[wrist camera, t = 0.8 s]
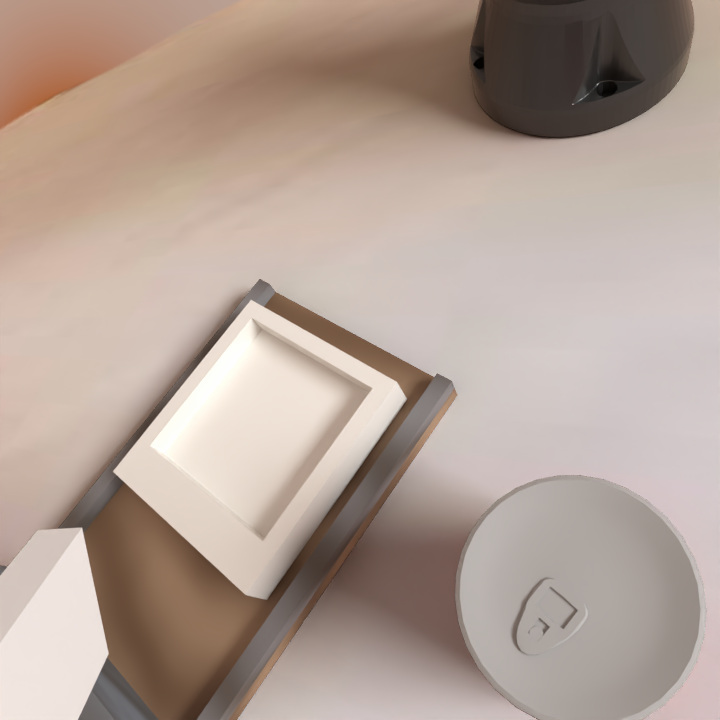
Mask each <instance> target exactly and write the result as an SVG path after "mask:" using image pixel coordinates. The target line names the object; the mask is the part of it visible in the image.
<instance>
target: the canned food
mask: <svg viewBox="0 0 720 720" xmlns="http://www.w3.org/2000/svg"><path fill="white" fill-rule="evenodd" d="M455 602H456V609H457V616H458V623H459V626H460V629H461V632H462V635H463V638H464V641H465V644H466V646H467V648H468V650H469V652H470V654H471V656H472V658H473V659H474V661H475V663H476V665H477V667H478V669H479V670H480V671H481V673H482V674H483V675H484V676H485V678H486V679H487V680H488V681H489V683H490V684H491V685H492V686H493V688H494V689H495V690H496V691H497V692H499V693H500V694H501V695H502V696H503V697H504V698H506V699H507V700H508V701H509V702H510V703H511V704H513V705H514V706H515V707H516V708H518V709H520V710H522V711H523V712H525V713H527V714H529V715H531V716H532V717H534V718H536V719H538V720H643V719H644V718H646V717H647V716H649V715H650V714H652V713H653V712H655V711H656V710H658V709H660V708H661V707H663V706H664V705H665V704H666V703H667V702H668V701H669V700H670V699H671V698H672V697H673V696H674V695H675V694H676V693H677V691H678V690H679V689H680V688H681V687H682V686H683V685H684V683H685V681H686V680H687V678H688V676H689V675H690V673H691V671H692V669H693V668H694V666H695V664H696V663H697V659H698V656H699V653H700V650H701V646H702V643H703V640H704V635H705V624H706V612H707V610H706V602H705V594H704V586H703V582H702V579H701V576H700V573H699V570H698V567H697V564H696V560H695V558H694V556H693V554H692V553H691V551H690V549H689V547H688V545H687V544H686V542H685V540H684V538H683V536H682V535H681V534H680V533H679V531H678V530H677V529H676V528H675V527H674V525H673V524H672V523H671V522H670V521H669V519H668V518H667V517H666V516H665V515H664V514H663V513H662V512H660V511H659V510H658V509H657V508H656V507H655V506H653V505H652V504H651V503H650V502H649V501H647V500H646V499H644V498H643V497H641V496H639V495H638V494H636V493H634V492H632V491H631V490H629V489H627V488H626V487H623V486H620V485H617V484H615V483H612V482H609V481H606V480H604V479H599V478H593V477H587V476H581V475H563V476H553V477H548V478H543V479H538V480H535V481H532V482H530V483H527V484H525V485H522V486H520V487H517V488H515V489H514V490H512V491H511V492H509V493H508V494H506V495H505V496H503V497H501V498H500V499H498V500H497V501H496V502H495V503H494V504H493V505H492V506H491V507H490V508H489V509H488V510H487V511H486V512H485V513H484V514H483V515H482V516H481V518H480V519H479V521H478V522H477V523H476V525H475V526H474V528H473V529H472V531H471V532H470V534H469V536H468V539H467V541H466V543H465V545H464V548H463V550H462V552H461V556H460V560H459V564H458V569H457V573H456V587H455Z"/></svg>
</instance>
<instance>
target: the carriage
mask: <svg viewBox="0 0 720 720" xmlns="http://www.w3.org/2000/svg"><path fill="white" fill-rule="evenodd" d="M406 400H407V398H406V397H405V395H404V393H403V391H402V390H401V388H400V386H399V385H398V383H397V382H396V381H394V380H393V379H391V378H389V377H387V376H385V375H384V374H382V373H380V372H378V371H377V370H375V369H373V368H371V367H369V366H368V365H366V364H364V363H362V362H361V361H359V360H357V359H355V358H354V357H352V356H350V355H348V354H346V353H345V352H343V351H341V350H339V349H338V348H336V347H334V346H332V345H330V344H329V343H327V342H325V341H323V340H322V339H320V338H318V337H316V336H314V335H313V334H311V333H309V332H307V331H306V330H304V329H302V328H300V327H298V326H297V325H295V324H293V323H291V322H290V321H288V320H286V319H284V318H283V317H281V316H279V315H277V314H275V313H274V312H272V311H270V310H268V309H267V308H265V307H263V306H261V305H259V304H258V303H256V302H254V301H252V300H250V302H249V303H248V304H247V305H246V307H245V308H244V309H243V310H242V312H241V313H240V314H239V315H238V316H237V318H236V319H235V320H234V321H233V323H232V324H231V325H230V326H229V328H228V329H227V330H226V331H225V333H224V334H223V335H222V336H221V338H220V339H219V340H218V341H217V343H216V344H215V345H214V346H213V348H212V349H211V350H210V351H209V353H208V354H207V355H206V356H205V358H204V359H203V360H202V361H201V362H200V364H199V365H198V366H197V367H196V369H195V370H194V371H193V372H192V374H191V375H190V376H189V377H188V379H187V380H186V381H185V382H184V384H183V385H182V386H181V387H180V389H179V390H178V391H177V392H176V394H175V395H174V396H173V397H172V399H171V400H170V401H169V402H168V404H167V405H166V406H165V407H164V408H163V410H162V411H161V412H160V413H159V415H158V416H157V417H156V418H155V420H154V421H153V422H152V423H151V425H150V426H149V427H148V428H147V430H146V431H145V432H144V433H143V435H142V436H141V437H140V438H139V440H138V441H137V442H136V443H135V445H134V446H133V447H132V448H131V450H130V451H129V452H128V453H127V454H126V456H125V457H124V458H123V459H122V461H121V462H120V463H119V464H118V466H117V467H116V468H115V469H114V471H113V472H114V473H115V474H116V475H117V476H118V477H119V478H120V479H121V480H123V481H124V482H125V483H126V484H127V485H128V486H129V487H130V488H131V489H132V490H133V491H134V492H135V493H136V494H138V495H139V496H140V497H141V498H142V499H143V500H144V501H145V502H146V503H147V504H148V505H149V506H150V507H152V508H153V509H154V510H155V511H156V512H157V513H158V514H159V515H160V516H161V517H162V518H163V519H164V520H166V521H167V522H168V523H169V524H170V525H171V526H172V527H173V528H174V529H175V530H176V531H177V532H178V533H179V534H181V535H182V536H183V537H184V538H185V539H186V540H187V541H188V542H189V543H190V544H191V545H192V546H193V547H195V548H196V549H197V550H198V551H199V552H200V553H201V554H202V555H203V556H204V557H205V558H206V559H207V560H209V561H210V562H211V563H212V564H213V565H214V566H215V567H216V568H217V569H218V570H219V571H220V572H221V573H222V574H224V575H225V576H226V577H227V578H228V579H229V580H230V581H231V582H232V583H233V584H234V585H235V586H236V587H238V588H239V589H240V590H241V591H242V592H243V593H244V594H245V595H248V596H252V597H256V598H260V599H265V600H267V599H268V598H269V596H270V595H271V593H272V592H273V590H274V589H275V588H276V586H277V585H278V583H279V582H280V580H281V579H282V578H283V576H284V575H285V573H286V572H287V570H288V569H289V568H290V566H291V565H292V563H293V562H294V560H295V559H296V558H297V556H298V555H299V553H300V552H301V550H302V549H303V548H304V546H305V545H306V543H307V542H308V540H309V539H310V538H311V536H312V535H313V533H314V532H315V530H316V529H317V528H318V526H319V525H320V523H321V522H322V520H323V519H324V518H325V516H326V515H327V513H328V512H329V510H330V509H331V508H332V506H333V505H334V503H335V502H336V500H337V499H338V498H339V496H340V495H341V493H342V492H343V490H344V489H345V488H346V486H347V485H348V483H349V482H350V480H351V479H352V478H353V476H354V475H355V473H356V472H357V470H358V469H359V468H360V466H361V465H362V463H363V462H364V460H365V459H366V458H367V456H368V455H369V453H370V452H371V450H372V449H373V448H374V446H375V445H376V443H377V442H378V440H379V439H380V438H381V436H382V435H383V433H384V432H385V430H386V429H387V428H388V426H389V425H390V423H391V422H392V420H393V419H394V418H395V416H396V415H397V413H398V412H399V410H400V409H401V408H402V406H403V405H404V403H405V402H406Z"/></svg>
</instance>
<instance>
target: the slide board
mask: <svg viewBox="0 0 720 720" xmlns="http://www.w3.org/2000/svg"><path fill="white" fill-rule="evenodd" d="M250 300H252V301H254V302H256V303H258V304H259V305H261V306H263V307H265V308H267V309H268V310H270V311H272V312H274V313H275V314H277V315H279V316H281V317H283V318H284V319H286V320H288V321H290V322H291V323H293V324H295V325H297V326H298V327H300V328H302V329H304V330H306V331H307V332H309V333H311V334H313V335H314V336H316V337H318V338H320V339H322V340H323V341H325V342H327V343H329V344H330V345H332V346H334V347H336V348H338V349H339V350H341V351H343V352H345V353H346V354H348V355H350V356H352V357H354V358H355V359H357V360H359V361H361V362H362V363H364V364H366V365H368V366H369V367H371V368H373V369H375V370H377V371H378V372H380V373H382V374H384V375H385V376H387V377H389V378H391V379H393V380H394V381H396V382H397V383H398V385H399V386H400V388H401V390H402V391H403V393H404V395H405V397H406V398H407V400H406V402H405V403H404V405H403V406H402V408H401V409H400V410H399V412H398V413H397V415H396V416H395V418H394V419H393V420H392V422H391V423H390V425H389V426H388V428H387V429H386V430H385V432H384V433H383V435H382V436H381V438H380V439H379V440H378V442H377V443H376V445H375V446H374V448H373V449H372V450H371V452H370V453H369V455H368V456H367V458H366V459H365V460H364V462H363V463H362V465H361V466H360V468H359V469H358V470H357V472H356V473H355V475H354V476H353V478H352V479H351V480H350V482H349V483H348V485H347V486H346V488H345V489H344V490H343V492H342V493H341V495H340V496H339V498H338V499H337V500H336V502H335V503H334V505H333V506H332V508H331V509H330V510H329V512H328V513H327V515H326V516H325V518H324V519H323V520H322V522H321V523H320V525H319V526H318V528H317V529H316V530H315V532H314V533H313V535H312V536H311V538H310V539H309V540H308V542H307V543H306V545H305V546H304V548H303V549H302V550H301V552H300V553H299V555H298V556H297V558H296V559H295V560H294V562H293V563H292V565H291V566H290V568H289V569H288V570H287V572H286V573H285V575H284V576H283V578H282V579H281V580H280V582H279V583H278V585H277V586H276V588H275V589H274V590H273V592H272V593H271V595H270V596H269V598H268V599H267V600H265V599H260V598H256V597H252V596H248V595H245V594H244V593H243V592H242V591H241V590H240V589H239V588H238V587H236V586H235V585H234V584H233V583H232V582H231V581H230V580H229V579H228V578H227V577H226V576H225V575H224V574H222V573H221V572H220V571H219V570H218V569H217V568H216V567H215V566H214V565H213V564H212V563H211V562H210V561H209V560H207V559H206V558H205V557H204V556H203V555H202V554H201V553H200V552H199V551H198V550H197V549H196V548H195V547H193V546H192V545H191V544H190V543H189V542H188V541H187V540H186V539H185V538H184V537H183V536H182V535H181V534H179V533H178V532H177V531H176V530H175V529H174V528H173V527H172V526H171V525H170V524H169V523H168V522H167V521H166V520H164V519H163V518H162V517H161V516H160V515H159V514H158V513H157V512H156V511H155V510H154V509H153V508H152V507H150V506H149V505H148V504H147V503H146V502H145V501H144V500H143V499H142V498H141V497H140V496H139V495H138V494H136V493H135V492H134V491H133V490H132V489H131V488H130V487H129V486H128V485H127V484H126V483H125V482H124V481H123V480H121V479H120V478H119V477H118V476H117V475H116V474H115V473H114V472H113V471H114V469H115V468H116V467H117V466H118V464H119V463H120V462H121V461H122V459H123V458H124V457H125V456H126V454H127V453H128V452H129V451H130V450H131V448H132V447H133V446H134V445H135V443H136V442H137V441H138V440H139V438H140V437H141V436H142V435H143V433H144V432H145V431H146V430H147V428H148V427H149V426H150V425H151V423H152V422H153V421H154V420H155V418H156V417H157V416H158V415H159V413H160V412H161V411H162V410H163V408H164V407H165V406H166V405H167V404H168V402H169V401H170V400H171V399H172V397H173V396H174V395H175V394H176V392H177V391H178V390H179V389H180V387H181V386H182V385H183V384H184V382H185V381H186V380H187V379H188V377H189V376H190V375H191V374H192V372H193V371H194V370H195V369H196V367H197V366H198V365H199V364H200V362H201V361H202V360H203V359H204V358H205V356H206V355H207V354H208V353H209V351H210V350H211V349H212V348H213V346H214V345H215V344H216V343H217V341H218V340H219V339H220V338H221V336H222V335H223V334H224V333H225V331H226V330H227V329H228V328H229V326H230V325H231V324H232V323H233V321H234V320H235V319H236V318H237V316H238V315H239V314H240V313H241V312H242V310H243V309H244V308H245V307H246V305H247V304H248V303H249V302H250ZM456 396H457V393H456V391H455V388H454V386H453V383H452V381H450V380H449V379H447V378H445V377H443V376H441V375H439V374H436V376H435V377H433V376H431V375H429V374H427V373H425V372H423V371H421V370H420V369H418V368H416V367H414V366H412V365H410V364H408V363H407V362H405V361H403V360H401V359H399V358H397V357H395V356H394V355H392V354H390V353H388V352H386V351H384V350H382V349H381V348H379V347H377V346H375V345H373V344H371V343H369V342H368V341H366V340H364V339H362V338H360V337H358V336H356V335H354V334H353V333H351V332H349V331H347V330H345V329H343V328H341V327H340V326H338V325H336V324H334V323H332V322H330V321H328V320H327V319H325V318H323V317H321V316H319V315H317V314H315V313H314V312H312V311H310V310H308V309H306V308H304V307H302V306H301V305H299V304H297V303H295V302H293V301H291V300H289V299H288V298H286V297H284V296H282V295H280V294H278V293H276V292H275V291H274V289H273V288H272V287H271V285H270V284H268V283H266V282H264V281H263V280H261V279H259V281H258V282H257V283H256V284H255V285H254V287H253V288H252V289H251V290H250V292H249V293H248V294H247V295H246V297H245V298H244V299H243V300H242V302H241V303H240V304H239V305H238V306H237V308H236V309H235V310H234V311H233V313H232V314H231V315H230V316H229V318H228V319H227V320H226V321H225V323H224V324H223V325H222V326H221V328H220V329H219V330H218V331H217V332H216V334H215V335H214V336H213V337H212V339H211V340H210V341H209V342H208V344H207V345H206V346H205V347H204V349H203V350H202V351H201V352H200V354H199V355H198V356H197V357H196V358H195V360H194V361H193V362H192V363H191V365H190V366H189V367H188V368H187V370H186V371H185V372H184V373H183V375H182V376H181V377H180V378H179V380H178V381H177V382H176V383H175V384H174V386H173V387H172V388H171V389H170V391H169V392H168V393H167V394H166V396H165V397H164V398H163V399H162V401H161V402H160V403H159V404H158V406H157V407H156V408H155V409H154V410H153V412H152V413H151V414H150V415H149V417H148V418H147V419H146V420H145V422H144V423H143V424H142V425H141V427H140V428H139V429H138V430H137V431H136V433H135V434H134V435H133V436H132V438H131V439H130V440H129V441H128V443H127V444H126V445H125V446H124V448H123V449H122V450H121V451H120V453H119V454H118V455H117V456H116V457H115V459H114V460H113V461H112V462H111V464H110V465H109V466H108V467H107V469H106V470H105V471H104V472H103V474H102V475H101V476H100V477H99V479H98V480H97V481H96V482H95V483H94V485H93V486H92V487H91V488H90V490H89V491H88V492H87V493H86V495H85V496H84V497H83V498H82V500H81V501H80V502H79V503H78V505H77V506H76V507H75V508H74V509H73V511H72V512H71V513H70V514H69V516H68V517H67V518H66V519H65V521H64V522H63V523H62V524H61V526H60V527H59V528H58V529H65V528H82V530H83V535H84V539H85V544H86V549H87V554H88V558H89V563H90V568H91V573H92V577H93V582H94V587H95V591H96V596H97V601H98V606H99V610H100V615H101V620H102V625H103V629H104V634H105V639H106V643H107V648H108V653H109V654H108V656H107V658H106V660H105V663H104V665H103V667H102V669H101V671H100V673H99V675H98V678H97V680H96V682H95V684H94V686H93V688H92V690H91V693H90V695H89V697H88V699H87V701H86V703H85V706H84V708H83V710H82V712H81V714H80V716H79V718H78V720H237V719H238V717H239V716H240V714H241V713H242V711H243V710H244V708H245V707H246V705H247V704H248V702H249V701H250V699H251V698H252V697H253V695H254V694H255V692H256V691H257V689H258V688H259V686H260V685H261V683H262V682H263V680H264V679H265V677H266V676H267V674H268V673H269V672H270V670H271V669H272V667H273V666H274V664H275V663H276V661H277V660H278V658H279V657H280V655H281V654H282V652H283V651H284V649H285V648H286V646H287V645H288V644H289V642H290V641H291V639H292V638H293V636H294V635H295V633H296V632H297V630H298V629H299V627H300V626H301V624H302V623H303V621H304V620H305V618H306V617H307V616H308V614H309V613H310V611H311V610H312V608H313V607H314V605H315V604H316V602H317V601H318V599H319V598H320V596H321V595H322V593H323V592H324V591H325V589H326V588H327V586H328V585H329V583H330V582H331V580H332V579H333V577H334V576H335V574H336V573H337V571H338V570H339V568H340V567H341V565H342V564H343V563H344V561H345V560H346V558H347V557H348V555H349V554H350V552H351V551H352V549H353V548H354V546H355V545H356V543H357V542H358V540H359V539H360V538H361V536H362V535H363V533H364V532H365V530H366V529H367V527H368V526H369V524H370V523H371V521H372V520H373V518H374V517H375V515H376V514H377V512H378V511H379V510H380V508H381V507H382V505H383V504H384V502H385V501H386V499H387V498H388V496H389V495H390V493H391V492H392V490H393V489H394V487H395V486H396V484H397V483H398V482H399V480H400V479H401V477H402V476H403V474H404V473H405V471H406V470H407V468H408V467H409V465H410V464H411V462H412V461H413V459H414V458H415V457H416V455H417V454H418V452H419V451H420V449H421V448H422V446H423V445H424V443H425V442H426V440H427V439H428V437H429V436H430V434H431V433H432V431H433V430H434V429H435V427H436V426H437V424H438V423H439V421H440V420H441V418H442V417H443V415H444V414H445V412H446V411H447V409H448V408H449V406H450V405H451V403H452V402H453V401H454V399H455V398H456ZM6 568H7V566H1V565H0V575H1V574H2V573H3V572H4V570H5V569H6Z"/></svg>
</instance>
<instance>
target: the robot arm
mask: <svg viewBox="0 0 720 720" xmlns="http://www.w3.org/2000/svg"><path fill="white" fill-rule="evenodd" d="M693 32H694V13H693V7H692V2H691V0H480V1H479V6H478V11H477V16H476V21H475V27H474V32H473V37H472V42H471V47H470V71H471V77H472V84H473V89H474V94H475V96H476V99H477V101H478V103H479V104H480V106H481V107H482V109H483V110H484V111H485V112H486V113H487V114H488V115H489V116H490V117H491V118H493V119H494V120H495V121H497V122H498V123H500V124H502V125H504V126H506V127H508V128H510V129H513V130H516V131H519V132H522V133H527V134H531V135H537V136H549V137H565V136H577V135H583V134H589V133H594V132H598V131H602V130H605V129H609V128H612V127H614V126H617V125H620V124H622V123H625V122H627V121H629V120H631V119H633V118H635V117H637V116H639V115H641V114H642V113H644V112H646V111H647V110H649V109H650V108H652V107H653V106H654V105H656V104H657V103H658V102H659V101H661V100H662V99H663V98H664V97H665V96H666V95H667V94H668V93H669V92H670V91H671V90H672V89H673V88H674V86H675V85H676V84H677V82H678V81H679V79H680V78H681V76H682V74H683V72H684V70H685V68H686V65H687V62H688V58H689V53H690V48H691V43H692V38H693ZM108 654H109V653H108V648H107V643H106V639H105V634H104V629H103V625H102V620H101V615H100V610H99V606H98V601H97V596H96V591H95V587H94V582H93V577H92V573H91V568H90V563H89V558H88V554H87V549H86V544H85V539H84V535H83V530H82V528H65V529H48V530H37V532H36V533H35V534H34V535H33V536H32V538H31V539H30V540H29V541H28V542H27V544H26V545H25V546H24V547H23V549H22V550H21V551H20V552H19V553H18V555H17V556H16V557H15V558H14V559H13V561H12V562H11V563H10V564H9V565H8V567H7V568H6V569H5V570H4V572H3V573H2V574H1V575H0V720H78V718H79V716H80V714H81V712H82V710H83V708H84V706H85V703H86V701H87V699H88V697H89V695H90V693H91V690H92V688H93V686H94V684H95V682H96V680H97V678H98V675H99V673H100V671H101V669H102V667H103V665H104V663H105V660H106V658H107V656H108Z"/></svg>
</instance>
